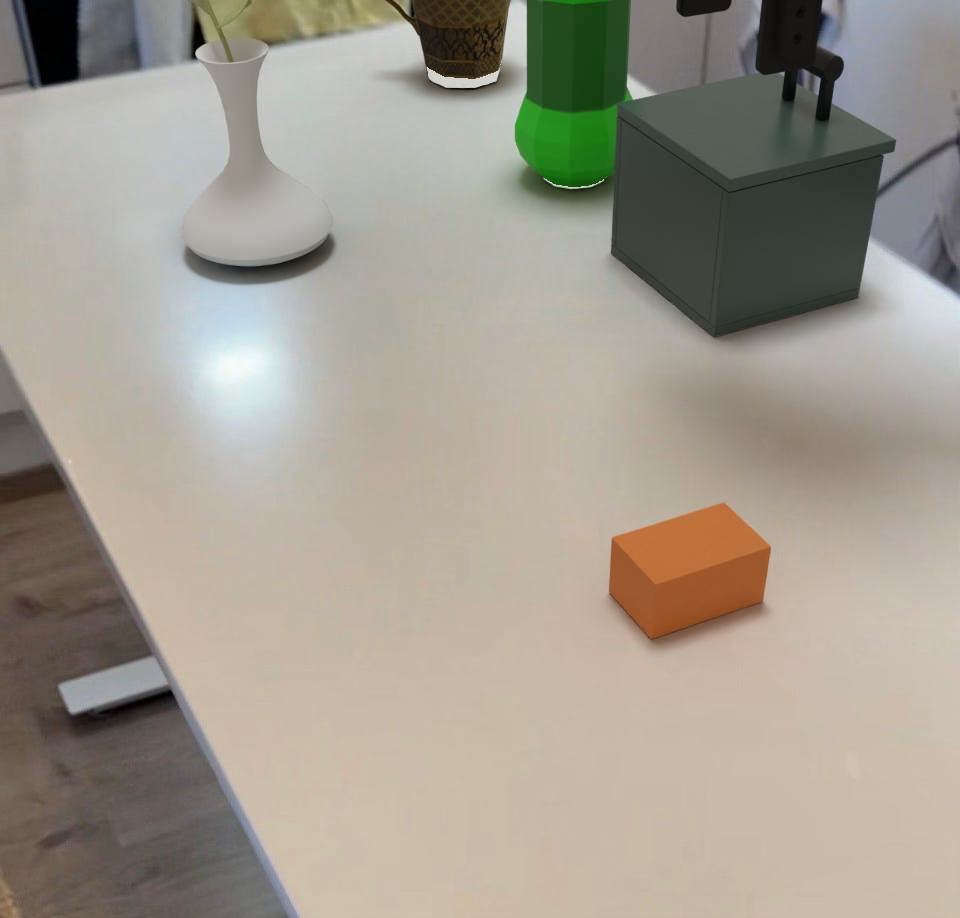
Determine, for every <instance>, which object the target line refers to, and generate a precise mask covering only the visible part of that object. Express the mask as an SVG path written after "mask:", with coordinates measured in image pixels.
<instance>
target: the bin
mask: <svg viewBox="0 0 960 918" xmlns="http://www.w3.org/2000/svg"><path fill="white" fill-rule="evenodd" d="M884 158H885V154H883V155H879V156H875V157H871V158H867V159H863V160H859V161H855V162H850V163H846V164H842V165H838V166H834V167H830V168H826V169H822V170H817V171H813V172H809V173H805V174H801V175H797V176H793V177H789V178H784V179H780V180H776V181H772V182H768V183H764V184H760V185H756V186H751V187H747V188H743V189H739V190H735V191H731V192H729V191H727V190H726V189H724V188H723V187H721V186H720V185H718V184H717V183H715V182H714V181H713V180H711V179H710V178H708V177H707V176H705V175H704V174H702V173H701V172H699V171H698V170H697V169H695V168H694V167H692V166H691V165H689V164H688V163H686V162H685V161H683V160H682V159H681V158H679V157H678V156H676V155H675V154H673V153H672V152H670V151H669V150H667V149H666V148H664V147H663V146H662V145H660V144H659V143H657V142H656V141H654V140H653V139H651V138H650V137H648V136H647V135H646V134H644V133H643V132H641V131H640V130H638V129H637V128H635V127H634V126H632V125H631V124H630V123H628V122H627V121H625V120H624V119H622V118H621V117H619V116H617V124H616V147H615V170H614V173H613V195H612V216H611V217H612V218H611V219H612V220H611V239H610V240H611V243H610V254H611V255H613V256H614V257H615V258H617V259H618V260H619V261H621V263H622V264H624V265H625V266H626V267H628V268H629V269H630V270H631V271H632V272H634V273H635V274H636V275H637V276H639V277H640V278H641V279H642V280H644V281H645V282H646V283H647V284H648V285H650V287H652V288H653V289H654V290H656V291H657V292H658V293H659V294H661V295H662V296H663V297H664V298H665V299H667V300H668V301H669V302H670V303H671V304H673V305H674V306H675V307H677V308H678V309H679V310H680V311H681V312H683V313H684V314H685V315H687V316H688V317H689V318H690V319H691V320H692V321H693V322H695V323H696V324H698V325H699V326H700V327H701V328H702V329H703V330H704V331H706V332H707V333H709V335H711V336H712V337H714V338H715V337H716V338H717V337H719V336H723V335H727V334H730V333H733V332H737V331H741V330H745V329H748V328H753V327H756V326H760V325H764V324H767V323H771V322H774V321H778V320H781V319H784V318H788V317H792V316H796V315H799V314H804V313H807V312H810V311H813V310H817V309H822V308H825V307H828V306H833V305H836V304H839V303H843V302H847V301H851V300H854V299H858V298H859V297H860V291H861V285H862V279H863V275H864V270H865V269H864V268H865V264H866V257H867V253H868V247H869V241H870V235H871V230H872V225H873V219H874V214H875V209H876V201H877V197H878V191H879V186H880V182H881V175H882V169H883V164H884ZM857 297H858V298H857Z"/></svg>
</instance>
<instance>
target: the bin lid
mask: <svg viewBox="0 0 960 918" xmlns="http://www.w3.org/2000/svg"><path fill="white" fill-rule="evenodd" d="M844 68H845V62H844V59H843V58H842V57H841V56H840V55H838V54H836V53H834V52H833V51H830V50H829V49H827V48H825V47H823V46H821V45H819V44H817V47H816V55H815V61H814V63H813V64H812V66H810V67H809V68H804V69H803V70H804V71H806V72H808V73H810V74H811V75H814V76H815V77H817V78H819V79H820V80H819V81H820V82H819V86H818V87H819V88H818V94H817V93H815V92H814V91H811V90H809V89H807V88H806V87H804V86H802V85H800V84H799V83H798V79H799V78H798V77H799V71H800V69H798V70H793V71H787V72H784V75H783V74H782V73H775V74H769V75H762V74H761V73H759V72H754V73H751V74H746V75H745V74H744V75H741V76H736V77H731V78H728V79H722V80H718V81H714V82H709V83H704V84H700V85H694V86H691V87H686V88H681V89H676V90H672V91H667V92H662V93H659V94H658V93H657V94H653V95H648V96H645V97H640V98H633V100H630V101H625V102H621V103H617V115H618V116H619V117H621V118H622V119H624V120H625V121H627V122H628V123H630V124H631V125H632V126H634V127H635V128H637V129H638V130H640V131H641V132H643V133H644V134H646V135H647V136H648V137H650V138H651V139H653V140H654V141H656V142H657V143H659V144H660V145H662V146H663V147H664V148H666V149H667V150H669V151H670V152H672V153H673V154H675V155H676V156H678V157H679V158H681V159H682V160H683V161H685V162H686V163H688V164H689V165H691V166H692V167H694V168H695V169H697V170H698V171H699V172H701V173H702V174H704V175H705V176H707V177H708V178H710V179H711V180H713V181H714V182H715V183H717V184H718V185H720V186H721V187H723V188H724V189H726V190H727V191H729V192H731V191H735V190H739V189H743V188H747V187H751V186H756V185H760V184H764V183H768V182H772V181H776V180H780V179H784V178H789V177H793V176H797V175H801V174H805V173H809V172H813V171H817V170H822V169H826V168H830V167H834V166H838V165H842V164H846V163H850V162H855V161H859V160H863V159H867V158H871V157H875V156H879V155H887V154H891V153H894V152H895V150H896V145H897V139H896V138H894V137H892V136H890V135H889V134H887V133H886V132H884V131H882V130H880V129H878V128H876V127H875V126H874V125H872V124H870V123H867V121H864V120H862V119H860V118H859V117H857V116H855V115H853V114H852V113H850V112H849V111H846V110H845V109H843V108H841V107H839V106H838V105H836V104H834V103H833V97H834V91H835V83H836V81H838V79H839V78H840V77H841V76H842V74H843V72H844V70H845V69H844Z"/></svg>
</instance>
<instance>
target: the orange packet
mask: <svg viewBox="0 0 960 918" xmlns="http://www.w3.org/2000/svg"><path fill="white" fill-rule="evenodd" d="M771 552H772V545H770V544H769V542H767V541H766V540H765V539H764V538H763V537H761V535H760V534H759V533H757V532H756V530H755V529H754V528H752V527H751V526H750V525H749V524H748V523H747V522H746V521H745V520H744V519H742V517H741V516H740V515H738V514H737V513H736V512H735V511H734V510H733V509H732V508H731V507H730V506H729V505H728V504H727V503H726V502H721V503H717V504H714V505H710V506H708V507H704V508H701V509H698V510H695V511H692V512H688V513H685V514H682V515H679V516H676V517H671V518H670V519H669V518H668V519H667V520H663V521H660V522H656V523H653V524H649V525H648V526H644V527H640V528H638V529H634V530H631V531H628V532H624V533H621V534H618V535H616V536H612V537H611V543H610V562H609V563H610V564H609V580H608V581H609V582H608V592H609V594H610V595H611V596H612V597H613V598H614V599H615V600H616V601H617V603H618V604H619V605H620V606H621V607H622V608H623V609H624V610H625V611H626V613H627V614H628V615H629V616H630V617H631V619H632V620H634V622H635V623H636V624H637V625H638V626H639V628H640V629H641V630H642V631H643V632H644V633H645V634H646V635H647V637H649V639H651V640H653V639H657V638H659V637H661V636H664V635H668V634H671V633H674V632H677V631H679V630H683V629H686V628H688V627H692V626H694V625H698V624H701V623H703V622H705V621H709V620H711V619H714V618H717V617H721V616H724V615H727V614H730V613H733V612H736V611H738V610H741V609H744V608H747V607H750V606H754V605H757V604H759V603H761V602H763V601H764V598H765V597H764V596H765V590H766V585H767V584H766V583H767V578H768V571H769V565H770V558H771Z"/></svg>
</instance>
